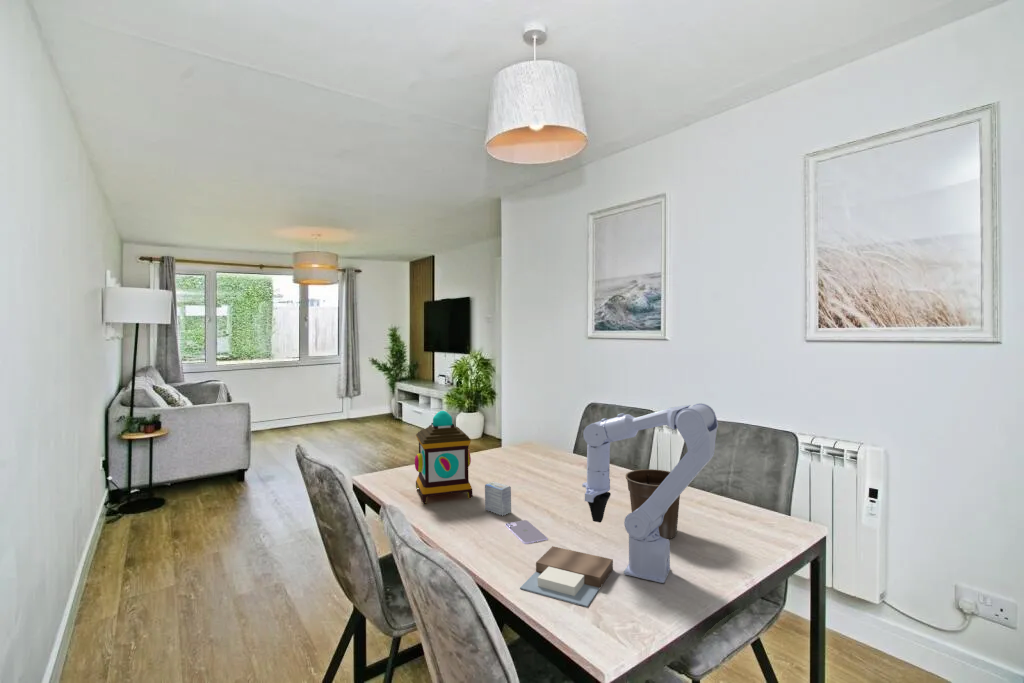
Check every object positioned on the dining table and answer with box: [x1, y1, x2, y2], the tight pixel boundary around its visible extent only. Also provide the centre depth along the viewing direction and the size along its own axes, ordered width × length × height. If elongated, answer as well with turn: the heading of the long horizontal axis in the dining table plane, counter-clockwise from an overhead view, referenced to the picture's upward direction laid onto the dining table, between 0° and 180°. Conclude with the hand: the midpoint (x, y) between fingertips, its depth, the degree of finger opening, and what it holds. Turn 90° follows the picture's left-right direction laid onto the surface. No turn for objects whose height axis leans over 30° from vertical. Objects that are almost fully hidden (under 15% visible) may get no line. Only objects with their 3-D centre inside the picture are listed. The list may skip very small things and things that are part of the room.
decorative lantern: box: [414, 410, 473, 504], centre depth 177 cm, size 20×20×30 cm
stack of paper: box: [484, 481, 512, 517], centre depth 160 cm, size 8×4×9 cm, turn 47°
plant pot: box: [624, 468, 681, 540], centre depth 143 cm, size 16×16×16 cm
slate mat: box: [519, 571, 601, 608], centre depth 112 cm, size 16×8×1 cm, turn 62°
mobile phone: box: [504, 519, 548, 545], centre depth 144 cm, size 8×1×15 cm
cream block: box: [538, 566, 584, 596], centre depth 114 cm, size 9×6×2 cm, turn 61°
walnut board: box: [535, 545, 614, 589], centre depth 121 cm, size 16×10×2 cm, turn 62°
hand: (597, 521), depth 128 cm, fingers closed
